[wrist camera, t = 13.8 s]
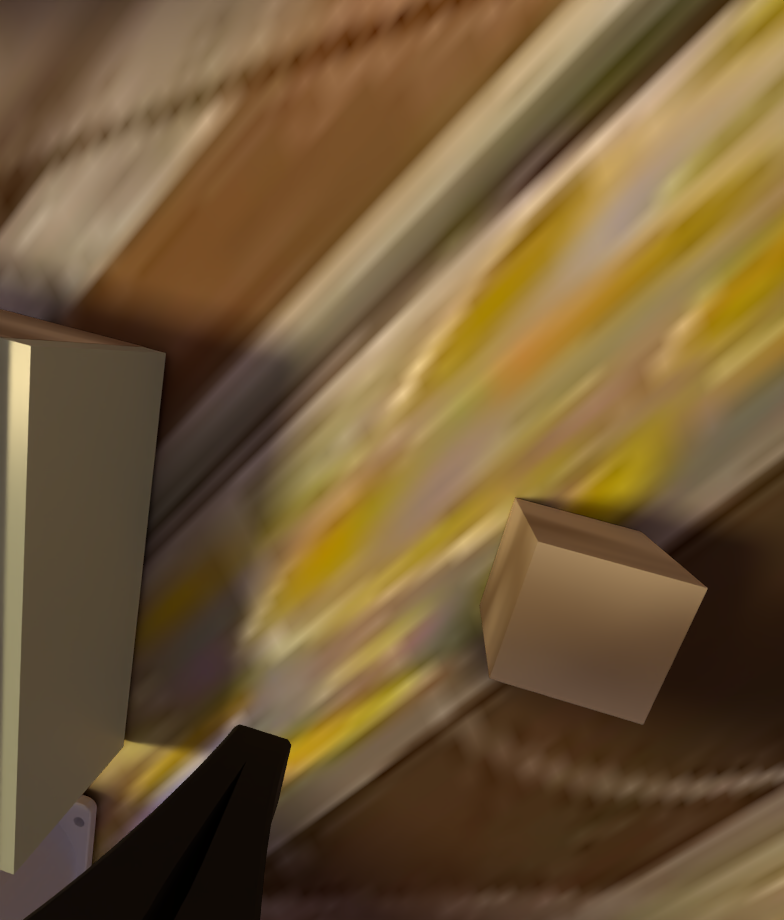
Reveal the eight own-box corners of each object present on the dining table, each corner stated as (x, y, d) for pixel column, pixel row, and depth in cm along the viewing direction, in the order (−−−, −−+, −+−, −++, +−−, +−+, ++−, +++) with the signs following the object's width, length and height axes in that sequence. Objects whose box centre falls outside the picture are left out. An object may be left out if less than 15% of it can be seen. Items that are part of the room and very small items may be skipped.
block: (596, 639, 14) (642, 724, 11) (479, 605, 14) (489, 678, 11) (640, 531, 13) (708, 588, 10) (515, 497, 13) (538, 541, 10)
